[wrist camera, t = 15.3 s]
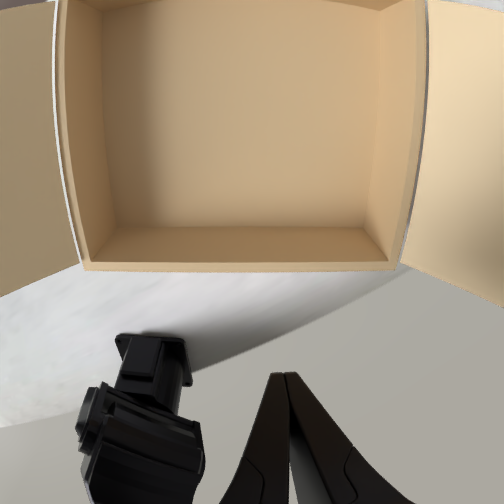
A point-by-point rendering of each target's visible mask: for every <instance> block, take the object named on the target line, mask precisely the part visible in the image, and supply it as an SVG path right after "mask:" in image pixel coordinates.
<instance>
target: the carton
mask: <svg viewBox="0 0 504 504" xmlns="http://www.w3.org/2000/svg"><path fill="white" fill-rule="evenodd" d="M425 82H426V18H425V2H424V0H59V1H58V11H57V23H56V40H55V94H56V112H57V125H58V136H59V145H60V153H61V161H62V168H63V174H64V181H65V187H66V192H67V198H68V203H69V208H70V213H71V218H72V222H73V227H74V231H75V235H76V240H77V244H78V248H79V252H80V255H81V259H82V263H83V266H84V270H85V271H125V272H337V271H385V270H395V269H396V266H397V262H398V258H399V254H400V250H401V246H402V242H403V238H404V233H405V229H406V224H407V220H408V215H409V210H410V205H411V200H412V194H413V189H414V183H415V177H416V171H417V164H418V157H419V150H420V142H421V133H422V124H423V113H424V100H425Z"/></svg>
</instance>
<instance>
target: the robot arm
mask: <svg viewBox="0 0 504 504" xmlns="http://www.w3.org/2000/svg"><path fill="white" fill-rule="evenodd" d="M115 343H116V346H117V348H118V351H119V353H120V356H121V359H122V361H123V362H122V365H121V367H120V370H119V374H118V377H117V380H116V383H115V386H114V388H113V387H111V386H108V384H107V383H105V382H103V381H102V383H101V384H100V386H99V388H98V387H89V388H88V390H87V393H86V395H85V398H84V401H83V404H82V406H81V409H80V413H79V416H78V419H77V422H76V426H75V430H76V432H77V434H78V436H79V439H78V442H79V448H78V451H79V452H82V453H84V454H85V456H84V459H83V462H82V466H81V474H82V478H83V481H84V484H85V488H86V491H87V494H88V497H89V500H90V503H91V504H192V502H193V497H194V494H195V491H196V488H197V485H198V484H199V483H200V481H201V479H202V477H203V474H204V470H205V453H204V447H203V440H202V434H201V428H200V423H199V422H197V421H191V420H188V419H185V418H183V417H180V416H177V415H178V408H179V402H180V395H181V389H182V386H183V387H190V386H192V384H193V379H192V375H191V370H190V365H189V360H188V354H187V349H186V344H185V341H184V340H183V339H180V338H162V337H144V336H130V335H117V336H116V338H115ZM289 461H290V466H291V471H292V476H293V481H294V485H295V490H296V494H297V500H298V504H415V503H413V502H411V501H410V500H408V499H407V498H405V497H404V496H403V495H402V494H401V493H400V492H398V491H397V490H396V489H395V488H394V487H393V486H392V485H391V484H390V483H388V482H387V481H386V480H385V479H384V478H383V477H382V476H381V475H380V474H379V473H378V472H377V471H376V470H375V469H374V468H373V467H372V466H371V465H370V464H369V463H368V462H367V461H366V460H365V459H364V458H363V456H362V455H361V454H360V453H359V452H358V450H357V449H356V448H355V447H354V446H353V444H352V443H351V442H350V441H349V439H348V438H347V437H346V435H345V434H344V433H343V432H342V430H341V429H340V428H339V427H338V425H337V424H336V423H335V421H333V419H332V418H331V416H330V415H329V414H328V412H327V411H326V410H325V409H324V407H323V406H322V405H321V403H320V402H319V401H318V400H317V398H316V397H315V396H314V394H313V393H312V392H311V390H310V389H309V388H308V386H307V385H306V384H305V383H304V381H303V380H302V379H301V377H300V376H299V375H298V374H297V373H296V372H285V373H284V374H283V373H282V372H275V373H271V374H270V376H269V379H268V382H267V385H266V388H265V392H264V395H263V398H262V401H261V404H260V407H259V410H258V412H257V415H256V418H255V421H254V424H253V427H252V430H251V433H250V436H249V438H248V441H247V444H246V447H245V450H244V452H243V457H241V460H240V463H239V466H238V468H237V471H236V473H235V475H234V478H233V480H232V482H231V484H230V485H229V487H228V489H227V491H226V493H225V494H224V496H223V498H222V500H221V501H220V503H219V504H289V503H288V502H289Z"/></svg>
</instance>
